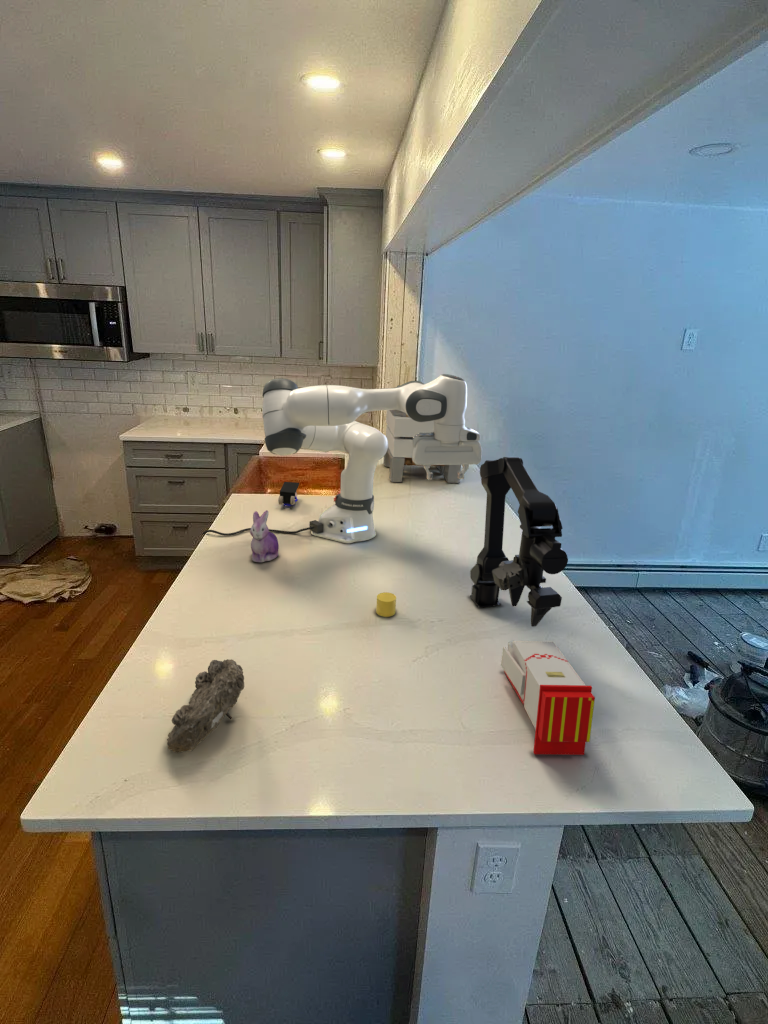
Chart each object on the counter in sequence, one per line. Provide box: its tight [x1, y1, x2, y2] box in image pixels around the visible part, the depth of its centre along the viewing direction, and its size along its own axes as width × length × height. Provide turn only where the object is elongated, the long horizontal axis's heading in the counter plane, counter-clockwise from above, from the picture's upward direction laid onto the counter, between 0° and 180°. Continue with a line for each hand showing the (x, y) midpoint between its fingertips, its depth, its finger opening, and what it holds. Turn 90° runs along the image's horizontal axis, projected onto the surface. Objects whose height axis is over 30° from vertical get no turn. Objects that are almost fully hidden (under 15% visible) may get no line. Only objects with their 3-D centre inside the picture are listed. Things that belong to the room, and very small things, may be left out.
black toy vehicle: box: [278, 481, 300, 510], centre depth 223 cm, size 7×8×15 cm
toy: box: [500, 640, 596, 756], centre depth 114 cm, size 12×13×30 cm
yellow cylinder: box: [375, 591, 397, 618], centre depth 148 cm, size 5×5×4 cm
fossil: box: [166, 658, 245, 754], centre depth 106 cm, size 22×10×15 cm
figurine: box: [249, 509, 280, 563], centre depth 174 cm, size 9×10×15 cm
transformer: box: [383, 384, 462, 484], centre depth 268 cm, size 34×33×41 cm
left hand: (445, 478), depth 167 cm, fingers open, 8 cm apart
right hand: (523, 615), depth 131 cm, fingers open, 9 cm apart
